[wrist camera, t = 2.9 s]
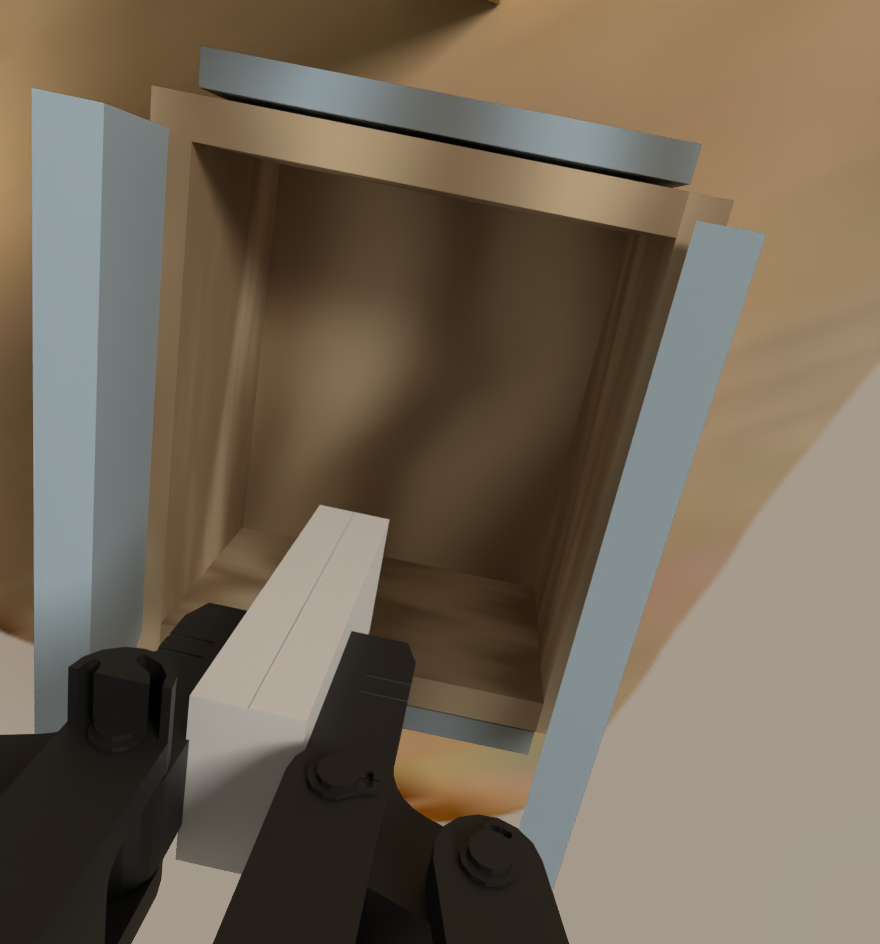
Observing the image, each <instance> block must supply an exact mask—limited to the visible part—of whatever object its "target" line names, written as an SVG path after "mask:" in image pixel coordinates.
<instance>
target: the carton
mask: <svg viewBox="0 0 880 944" xmlns="http://www.w3.org/2000/svg"><path fill="white" fill-rule="evenodd" d="M198 87H200V88H202V89H204V90H207V91H209V92H211V93H213V94H216V95H218V96H220V97H222V98H225V99H227V100H224V99H219V98H214V97H209V96H204V95H199V94H194V93H189V92H184V91H179V90H174V89H169V88H164V87H159V86H154V85H151V107H150V121H151V122H154V123H156V124H159V125H161V126H164V127H166V128H169V136H168V155H167V174H166V192H165V211H164V229H163V248H162V267H161V285H160V304H159V322H158V341H157V359H156V378H155V397H154V415H153V434H152V452H151V471H150V490H149V508H148V527H147V545H146V564H145V582H144V601H143V620H142V633H141V636H140V639H139V641H138V644H137V647H136V648H143V649H148V650H151V651H157V650H158V647H159V646H160V644H161V643H162V642H163V641H164V640H165V638H166V637H167V636H170V632H171V631H172V630H173V629H174V628H175V626H176V625H177V624H178V623H179V622H180V620H181V619H182V618H183V617H184V616H185V615H186V614H188V613H190V612H192V611H194V610H196V609H198V608H200V607H201V606H203V605H205V604H207V603H209V602H210V603H214V604H219V605H224V606H228V607H233V608H238V609H242V610H247V611H248V609H249V608H250V607H251V605H252V604H253V602H254V601H255V599H256V598H257V596H258V595H259V593H260V592H261V590H262V589H263V587H264V586H265V585H266V583H267V582H268V580H269V579H270V577H271V576H272V574H273V573H274V571H275V570H276V568H277V567H278V566H279V564H280V563H281V561H282V560H283V558H284V557H285V555H286V554H287V552H288V551H289V549H290V548H291V546H292V545H293V544H294V542H295V541H296V539H297V538H298V536H299V535H300V533H301V532H302V530H303V529H304V527H305V526H306V524H307V523H308V522H309V520H310V519H311V517H312V516H313V514H314V513H315V511H316V510H317V508H318V507H319V505H323V506H328V507H333V508H337V509H342V510H347V511H352V512H356V513H361V514H366V515H371V516H375V517H380V518H385V519H390V520H389V525H388V531H387V536H386V542H385V548H384V553H383V559H382V564H381V570H380V575H379V581H378V587H377V592H376V598H375V603H374V609H373V615H372V620H371V626H370V631H369V634H368V635H373V636H377V637H382V638H387V639H391V640H396V641H401V642H405V643H408V645H409V647H410V649H411V652H412V654H413V657H414V659H415V662H416V665H415V670H414V674H413V679H412V684H411V689H410V694H409V698H408V703H407V708H406V713H405V718H404V723H403V727H402V728H403V729H408V730H413V731H418V732H422V733H427V734H432V735H437V736H441V737H446V738H451V739H455V740H460V741H465V742H470V743H474V744H479V745H484V746H489V747H493V748H498V749H503V750H508V751H512V752H517V753H522V754H526V755H528V752H529V749H530V745H531V742H532V738H533V735H534V731H535V732H540V733H544V734H547V731H548V727H549V724H550V720H551V717H552V713H553V710H554V707H555V703H556V700H557V696H558V693H559V689H560V686H561V683H562V679H563V676H564V672H565V669H566V665H567V662H568V659H569V655H570V652H571V648H572V645H573V641H574V638H575V635H576V631H577V628H578V624H579V621H580V618H581V614H582V611H583V607H584V604H585V600H586V597H587V594H588V590H589V587H590V583H591V580H592V576H593V573H594V570H595V566H596V563H597V559H598V556H599V552H600V549H601V546H602V542H603V539H604V535H605V532H606V528H607V525H608V522H609V518H610V515H611V511H612V508H613V504H614V501H615V498H616V494H617V491H618V487H619V484H620V480H621V477H622V474H623V470H624V467H625V463H626V460H627V456H628V453H629V450H630V446H631V443H632V439H633V436H634V433H635V429H636V426H637V422H638V419H639V415H640V412H641V409H642V405H643V402H644V398H645V395H646V391H647V388H648V385H649V381H650V378H651V374H652V371H653V367H654V364H655V361H656V357H657V354H658V350H659V347H660V343H661V340H662V337H663V333H664V330H665V326H666V323H667V319H668V316H669V313H670V309H671V306H672V302H673V299H674V295H675V292H676V289H677V285H678V282H679V278H680V275H681V271H682V268H683V265H684V261H685V258H686V254H687V251H688V247H689V244H690V241H691V237H692V234H693V230H694V227H695V224H696V221H701V222H706V223H711V224H717V225H722V226H726V225H727V222H728V218H729V215H730V212H731V209H732V205H733V202H734V200H729V199H724V198H719V197H714V196H709V195H703V194H698V193H693V192H688V191H683V190H678V189H673V188H674V187H679V186H684V185H689V184H690V183H691V180H692V176H693V173H694V169H695V165H696V162H697V158H698V155H699V151H700V148H701V144H698V143H693V142H687V141H682V140H677V139H672V138H667V137H662V136H657V135H652V134H647V133H642V132H637V131H632V130H627V129H622V128H616V127H611V126H606V125H601V124H596V123H591V122H586V121H581V120H576V119H571V118H566V117H561V116H556V115H550V114H545V113H540V112H535V111H530V110H525V109H520V108H515V107H510V106H505V105H500V104H495V103H490V102H485V101H479V100H474V99H469V98H464V97H459V96H454V95H449V94H444V93H439V92H434V91H429V90H424V89H419V88H414V87H408V86H403V85H398V84H393V83H388V82H383V81H378V80H373V79H368V78H363V77H358V76H353V75H348V74H343V73H337V72H332V71H327V70H322V69H317V68H312V67H307V66H302V65H297V64H292V63H287V62H282V61H277V60H271V59H266V58H261V57H256V56H251V55H246V54H241V53H236V52H231V51H226V50H221V49H216V48H211V47H206V46H201V50H200V66H199V81H198Z"/></svg>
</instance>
